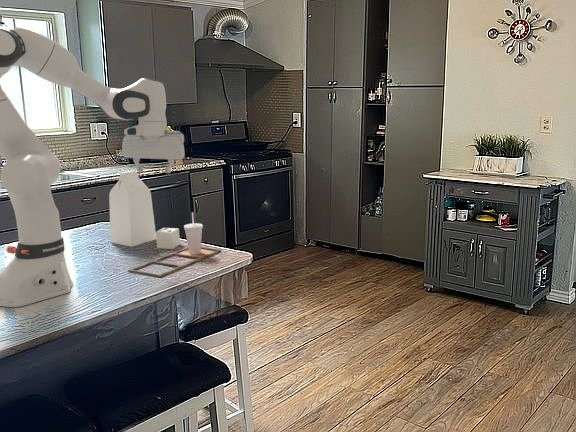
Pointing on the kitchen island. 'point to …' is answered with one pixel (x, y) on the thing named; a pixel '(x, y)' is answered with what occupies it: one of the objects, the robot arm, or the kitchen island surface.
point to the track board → (182, 253)
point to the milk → (131, 211)
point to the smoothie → (194, 236)
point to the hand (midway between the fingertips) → (154, 172)
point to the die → (168, 238)
